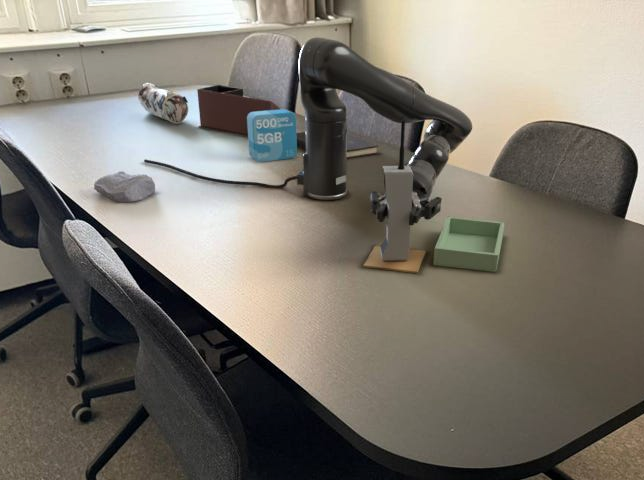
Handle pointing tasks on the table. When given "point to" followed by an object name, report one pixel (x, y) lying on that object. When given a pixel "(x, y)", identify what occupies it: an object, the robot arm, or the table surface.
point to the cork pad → (402, 266)
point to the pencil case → (163, 103)
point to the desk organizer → (228, 109)
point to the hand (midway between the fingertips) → (395, 218)
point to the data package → (272, 135)
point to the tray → (469, 244)
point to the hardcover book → (354, 146)
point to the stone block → (125, 186)
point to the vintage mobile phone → (397, 207)
